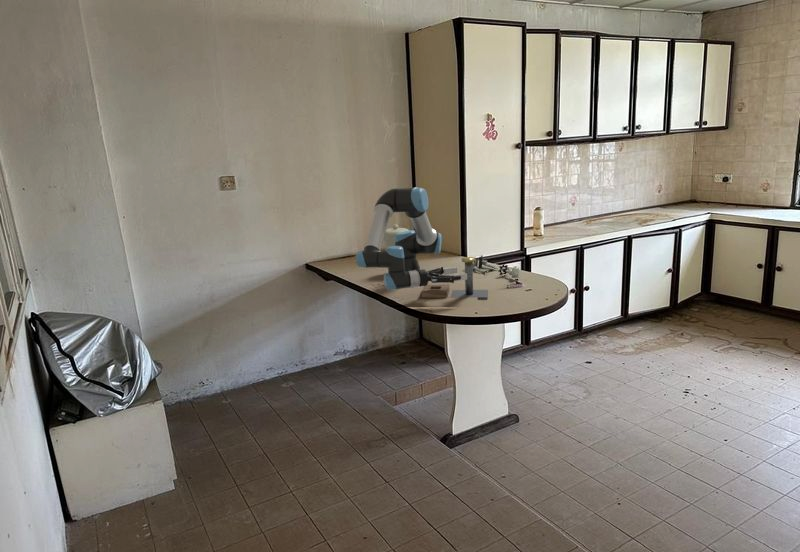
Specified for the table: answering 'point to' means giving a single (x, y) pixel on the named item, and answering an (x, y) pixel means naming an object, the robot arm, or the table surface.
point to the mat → (476, 293)
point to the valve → (510, 271)
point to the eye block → (435, 291)
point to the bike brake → (482, 262)
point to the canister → (392, 235)
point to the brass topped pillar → (469, 274)
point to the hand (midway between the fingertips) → (461, 273)
